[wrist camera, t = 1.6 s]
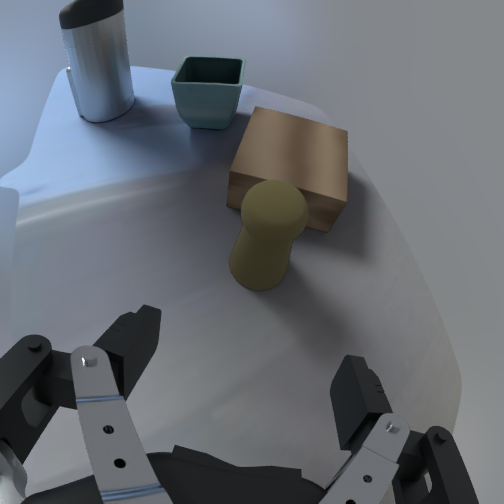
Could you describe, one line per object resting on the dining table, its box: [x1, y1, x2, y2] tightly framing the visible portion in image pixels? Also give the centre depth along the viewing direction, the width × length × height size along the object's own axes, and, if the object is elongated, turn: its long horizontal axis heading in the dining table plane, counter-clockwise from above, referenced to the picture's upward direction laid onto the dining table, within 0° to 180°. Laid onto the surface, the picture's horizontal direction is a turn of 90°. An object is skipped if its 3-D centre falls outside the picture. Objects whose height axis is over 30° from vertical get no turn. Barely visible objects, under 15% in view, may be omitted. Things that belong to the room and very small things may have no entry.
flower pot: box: [171, 56, 246, 129], centre depth 37 cm, size 9×9×9 cm
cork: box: [229, 180, 308, 291], centre depth 26 cm, size 6×6×11 cm
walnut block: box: [227, 106, 348, 232], centre depth 34 cm, size 12×12×6 cm
